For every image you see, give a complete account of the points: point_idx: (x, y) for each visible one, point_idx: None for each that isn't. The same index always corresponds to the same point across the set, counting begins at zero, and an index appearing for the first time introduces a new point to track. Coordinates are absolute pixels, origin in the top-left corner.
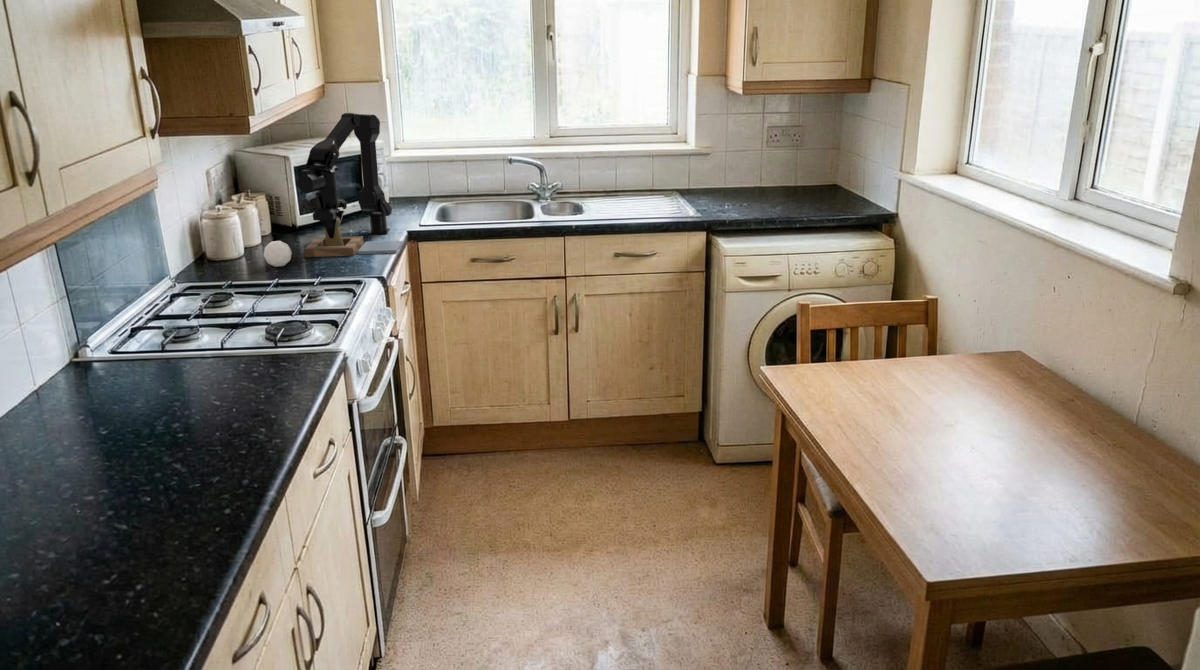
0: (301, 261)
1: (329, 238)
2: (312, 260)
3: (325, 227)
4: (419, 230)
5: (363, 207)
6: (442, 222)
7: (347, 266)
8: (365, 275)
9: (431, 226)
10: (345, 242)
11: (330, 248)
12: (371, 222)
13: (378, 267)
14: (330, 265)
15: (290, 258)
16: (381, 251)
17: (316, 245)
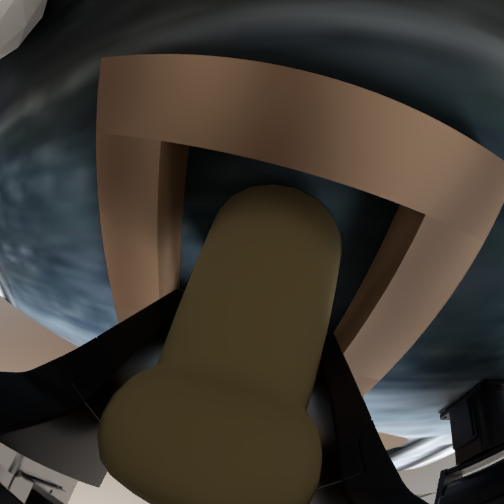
0: (64, 71)
1: (188, 282)
2: (71, 125)
3: (80, 348)
4: (411, 448)
5: (500, 478)
6: (439, 458)
7: (32, 263)
8: (6, 285)
9: (426, 454)
10: (348, 327)
11: (103, 243)
12: (479, 430)
13: (48, 323)
14: (28, 214)
15: (4, 55)
16: None
17: (193, 138)
